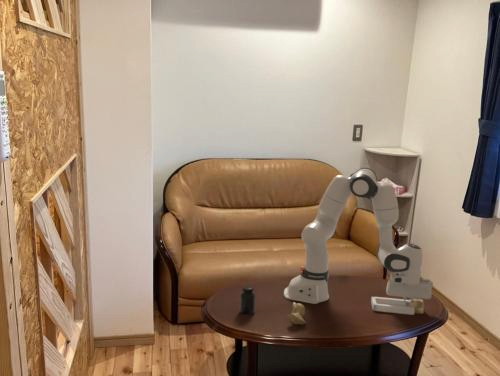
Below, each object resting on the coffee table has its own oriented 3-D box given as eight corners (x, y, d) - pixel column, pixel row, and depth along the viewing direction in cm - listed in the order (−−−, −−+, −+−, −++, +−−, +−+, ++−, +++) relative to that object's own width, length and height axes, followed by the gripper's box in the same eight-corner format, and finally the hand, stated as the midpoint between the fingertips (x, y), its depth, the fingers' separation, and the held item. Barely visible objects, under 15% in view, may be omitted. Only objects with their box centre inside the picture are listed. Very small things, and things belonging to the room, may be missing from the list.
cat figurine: (289, 313, 196) (292, 295, 206) (284, 324, 200) (288, 306, 210) (307, 320, 196) (310, 301, 206) (301, 331, 199) (305, 312, 209)
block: (411, 312, 215) (413, 302, 214) (410, 308, 220) (411, 298, 219) (423, 313, 214) (424, 303, 213) (420, 309, 219) (422, 299, 218)
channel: (373, 310, 216) (373, 304, 215) (371, 302, 225) (371, 296, 224) (413, 314, 213) (414, 308, 212) (410, 306, 222) (410, 300, 221)
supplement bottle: (247, 307, 214) (248, 283, 212) (257, 312, 209) (258, 287, 207) (236, 311, 209) (237, 286, 207) (246, 316, 204) (247, 291, 202)
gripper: (431, 277, 216) (428, 304, 219) (387, 273, 219) (384, 300, 222) (434, 282, 210) (431, 310, 213) (388, 278, 213) (386, 306, 216)
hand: (407, 305), depth 217 cm, fingers closed
